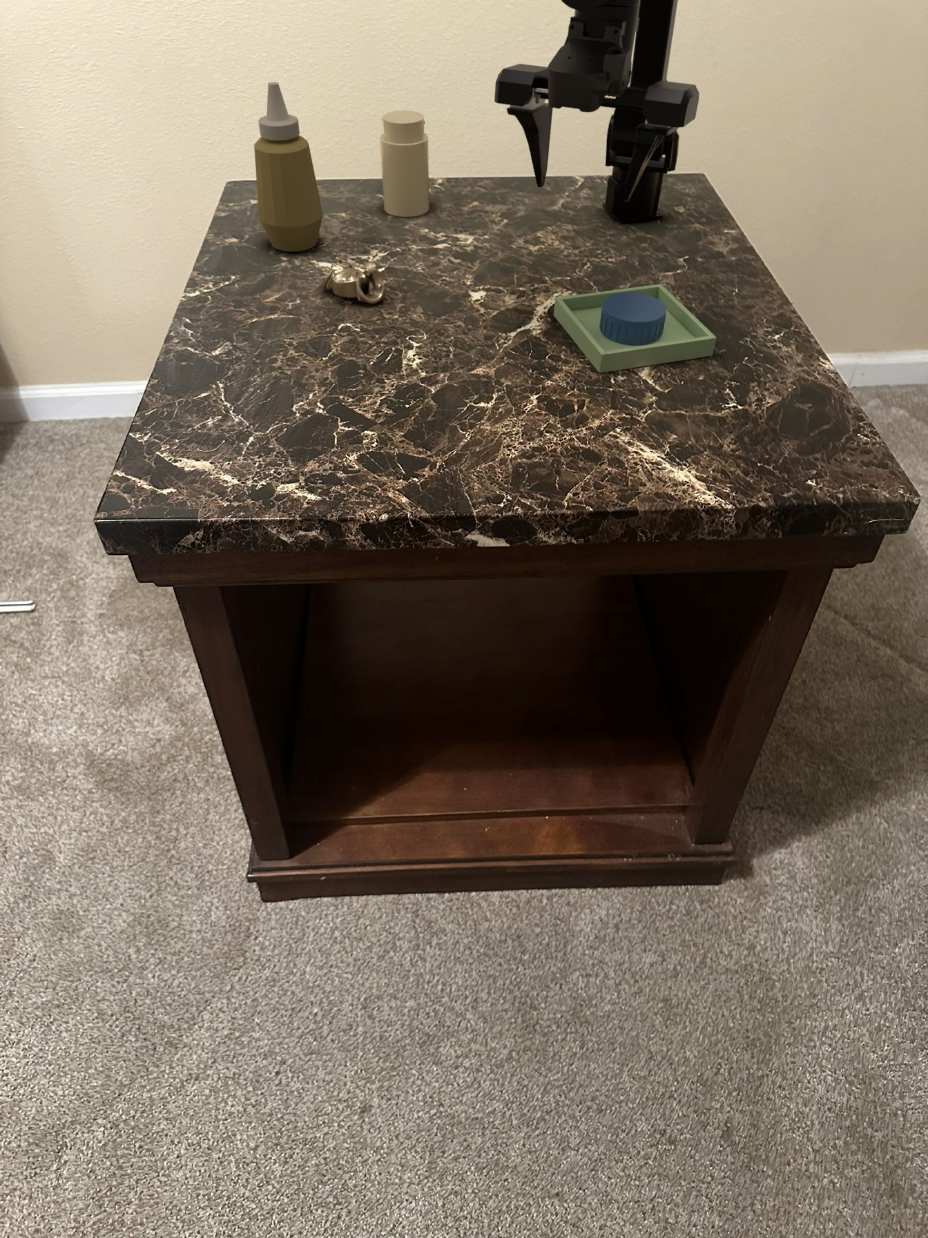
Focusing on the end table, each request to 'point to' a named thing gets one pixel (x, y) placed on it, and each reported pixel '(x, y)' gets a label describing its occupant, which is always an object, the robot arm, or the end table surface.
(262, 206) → the squeeze bottle
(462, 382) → the end table surface
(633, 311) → the lid
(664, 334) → the tray
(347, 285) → the ornament
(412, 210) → the jar
